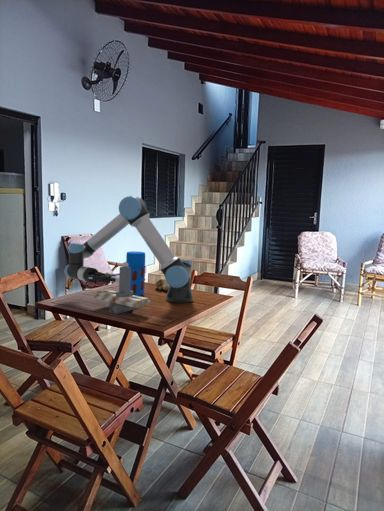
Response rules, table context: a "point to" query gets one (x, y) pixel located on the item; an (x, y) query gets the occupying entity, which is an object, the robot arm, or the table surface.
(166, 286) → the ginger root
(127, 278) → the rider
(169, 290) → the robot arm
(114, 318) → the table surface
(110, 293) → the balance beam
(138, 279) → the thermos
